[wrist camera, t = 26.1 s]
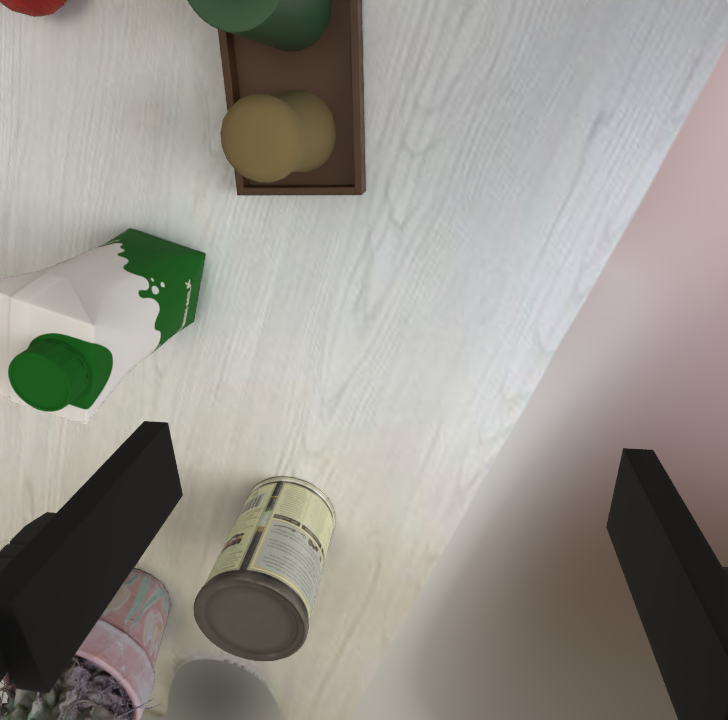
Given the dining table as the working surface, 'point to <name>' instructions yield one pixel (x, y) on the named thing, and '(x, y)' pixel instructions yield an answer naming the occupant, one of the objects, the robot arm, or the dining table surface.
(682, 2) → the dining table surface
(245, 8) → the green bottle
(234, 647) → the coffee can
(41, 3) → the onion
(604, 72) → the dining table surface
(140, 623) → the potted plant
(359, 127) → the tray
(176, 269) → the milk carton
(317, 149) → the cork
